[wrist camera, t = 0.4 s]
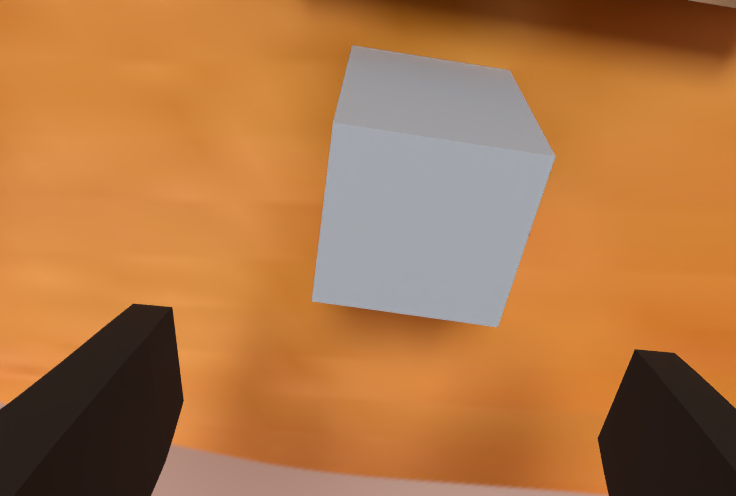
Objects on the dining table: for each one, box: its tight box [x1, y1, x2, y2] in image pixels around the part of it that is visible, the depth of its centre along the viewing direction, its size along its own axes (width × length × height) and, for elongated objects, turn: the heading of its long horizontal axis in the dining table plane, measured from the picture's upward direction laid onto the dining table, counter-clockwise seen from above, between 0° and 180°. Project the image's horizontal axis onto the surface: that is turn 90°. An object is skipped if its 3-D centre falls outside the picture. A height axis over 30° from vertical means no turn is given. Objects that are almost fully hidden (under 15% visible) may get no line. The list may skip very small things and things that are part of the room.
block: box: [312, 45, 555, 327], centre depth 16 cm, size 4×4×6 cm
